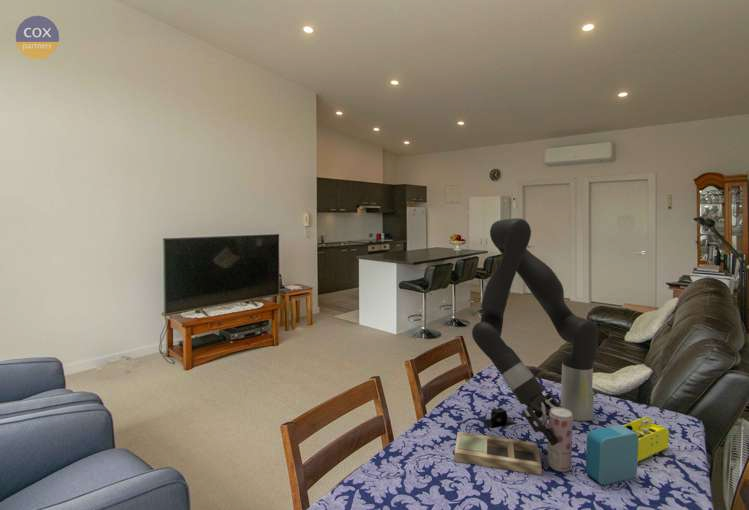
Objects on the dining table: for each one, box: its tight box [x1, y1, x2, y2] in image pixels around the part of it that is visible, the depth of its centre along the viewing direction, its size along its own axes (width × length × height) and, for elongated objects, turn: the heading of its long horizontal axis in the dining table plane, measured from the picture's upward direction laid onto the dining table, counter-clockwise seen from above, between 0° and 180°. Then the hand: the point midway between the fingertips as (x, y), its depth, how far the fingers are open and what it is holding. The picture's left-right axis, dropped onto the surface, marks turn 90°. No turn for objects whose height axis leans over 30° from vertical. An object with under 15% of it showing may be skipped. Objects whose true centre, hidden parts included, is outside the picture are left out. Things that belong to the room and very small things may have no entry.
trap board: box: [453, 431, 543, 476], centre depth 109 cm, size 22×11×3 cm, turn 74°
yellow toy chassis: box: [622, 415, 670, 463], centre depth 111 cm, size 16×6×8 cm, turn 117°
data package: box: [585, 424, 639, 486], centre depth 100 cm, size 12×4×12 cm, turn 106°
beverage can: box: [547, 406, 574, 473], centre depth 104 cm, size 6×6×15 cm
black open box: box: [481, 407, 517, 429], centre depth 128 cm, size 12×7×5 cm, turn 106°
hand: (562, 437), depth 104 cm, fingers open, 8 cm apart
